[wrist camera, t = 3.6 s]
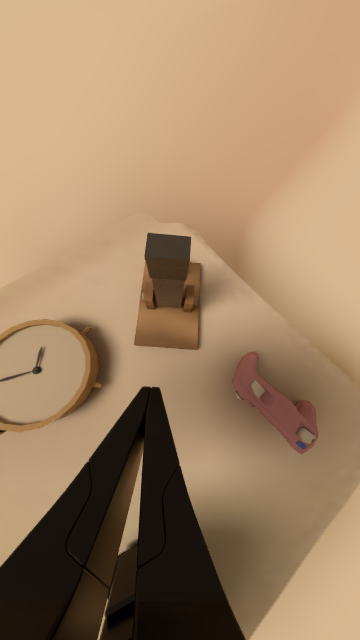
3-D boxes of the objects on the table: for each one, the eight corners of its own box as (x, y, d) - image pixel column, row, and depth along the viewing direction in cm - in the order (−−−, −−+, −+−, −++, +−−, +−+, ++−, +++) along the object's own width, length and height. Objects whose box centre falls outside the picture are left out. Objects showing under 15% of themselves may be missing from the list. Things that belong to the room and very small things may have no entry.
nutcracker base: (196, 349, 22) (201, 346, 18) (135, 345, 22) (127, 341, 18) (199, 266, 26) (204, 248, 22) (146, 261, 25) (142, 243, 22)
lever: (181, 308, 22) (189, 260, 12) (156, 306, 22) (144, 256, 12) (182, 294, 23) (191, 236, 13) (158, 292, 23) (147, 232, 12)
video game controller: (225, 369, 23) (224, 394, 17) (249, 346, 22) (259, 363, 16) (283, 424, 22) (307, 476, 15) (312, 403, 21) (352, 448, 14)
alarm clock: (103, 405, 18) (-102, 479, 13) (110, 399, 22) (-40, 453, 18) (84, 307, 20) (-92, 342, 16) (94, 320, 25) (-40, 350, 20)
